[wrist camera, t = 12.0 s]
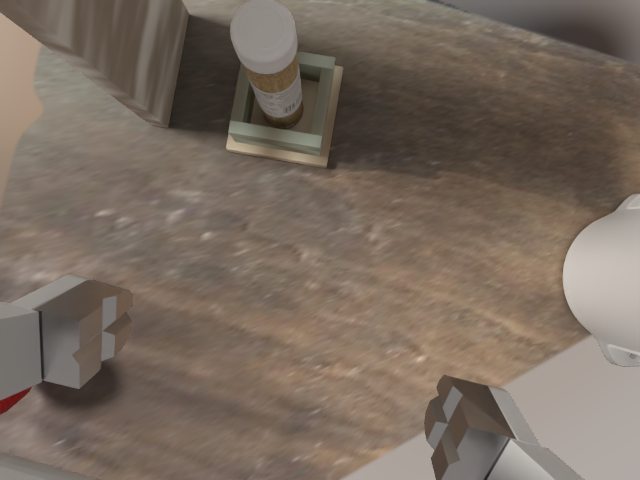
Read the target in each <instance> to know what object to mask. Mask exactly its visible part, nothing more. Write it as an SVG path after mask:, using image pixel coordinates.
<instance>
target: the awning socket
mask: <svg viewBox="0 0 640 480" xmlns="http://www.w3.org/2000/svg"><path fill="white" fill-rule="evenodd" d="M0 12H1V13H2V14H3V15H5V16H6V17H7V18H9V19H10V20H11V21H13V22H14V23H15V24H17V25H18V26H19V27H21V28H22V29H23V30H25V31H26V32H27V33H29V34H30V35H32V36H33V37H34V38H35V39H37V40H38V41H39V42H41V43H42V44H43V45H45V46H46V47H47V48H49V49H50V50H51V51H53V52H54V53H55V54H57V55H58V56H59V57H61V58H62V59H63V60H65V61H66V62H67V63H69V64H70V65H71V66H73V67H74V68H75V69H77V70H78V71H79V72H81V73H82V74H83V75H85V76H86V77H87V78H89V79H90V80H91V81H93V82H94V83H95V84H97V85H98V86H99V87H101V88H102V89H103V90H105V91H106V92H107V93H109V94H110V95H111V96H113V97H114V98H115V99H117V100H118V101H119V102H121V103H122V104H123V105H125V106H126V107H127V108H129V109H130V110H131V111H133V112H134V113H135V114H137V115H138V116H139V117H141V118H142V119H143V120H145V121H146V122H147V123H149V124H150V125H155V126H161V127H167V128H168V126H169V121H170V116H171V110H172V105H173V99H174V94H175V89H176V83H177V78H178V72H179V67H180V62H181V56H182V51H183V45H184V40H185V34H186V29H187V24H188V18H189V13H188V11H187V9H186V7H185V6H184V4H183V2H182V0H0ZM296 54H297V61H298V65H299V70H300V80H301V90H302V101H303V106H304V110H303V115H302V118H301V119H300V121H299V122H298V123H297V124H296V125H295V126H293V127H291V128H288V129H278V128H274V127H272V126H271V125H269V124H268V123H267V122H266V120H265V118H264V117H263V114H262V109H261V107H260V105H259V103H258V100H257V98H256V95H255V93H254V91H253V88H252V86H251V83H250V81H249V78H248V76H247V71H246V69H245V67H244V65H243V64H242V62H241V63H240V69H239V74H238V80H237V85H236V91H235V97H234V102H233V108H232V113H231V119H230V124H229V130H228V133H229V134H228V140H227V145H226V150H227V151H228V152H234V153H240V154H245V155H251V156H257V157H263V158H269V159H275V160H281V161H287V162H293V163H298V164H304V165H310V166H316V167H322V168H327V163H328V157H329V151H330V145H331V139H332V133H333V127H334V121H335V115H336V110H337V104H338V98H339V92H340V86H341V80H342V74H343V68H344V67H342V66H336V65H335V58H336V57H330V56H324V55H318V54H312V53H306V52H300V51H296Z"/></svg>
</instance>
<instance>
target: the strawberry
mask: <svg viewBox="0 0 640 480" xmlns="http://www.w3.org/2000/svg"><path fill="white" fill-rule="evenodd" d="M31 388H32V387H30V388H28V389H25V390H23V391H21V392H18V393H16V394H14V395H12V396H9V397H7V398H5V399H2V400H0V414H2V413H4V412H6V411H7V410H8V409H10V408H11V407H12V406H13V405H15V404H16V403H17V402H18V401H19V400H21V399H22V398H23V397H24V396H25V395H26V394H27V393H28V392H29V391H30V389H31Z"/></svg>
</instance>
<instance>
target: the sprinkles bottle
mask: <svg viewBox="0 0 640 480" xmlns="http://www.w3.org/2000/svg"><path fill="white" fill-rule="evenodd" d="M230 36H231V40H232V43H233V46H234V49H235V51H236V54H237V56H238V58H239V60H240V61H241V62H242V64H243V65H244V67H245V69H246V71H247V76H248V78H249V81H250V83H251V86H252V88H253V91H254V93H255V95H256V98H257V100H258V103H259V105H260V107H261V109H262V114H263V117H264V118H265V120H266V122H267V123H268V124H269V125H271V126H272V127H274V128H278V129H288V128H291V127H293V126H295V125H296V124H297V123H298V122H299V121H300V119H301V118H302V115H303V110H304V106H303V101H302V90H301V80H300V70H299V65H298V61H297V54H296V51H297V44H298V41H297V32H296V26H295V22H294V19H293V17H292V15H291V13H290V12H289V10H288V9H287V8H286V7H285V6H284V5H283V4H281V3H280V2H278V1H276V0H250V1H248V2H246V3H244V4H243V5H242V6H241V7H239V9H238V10H237V11H236V12H235V14H234V16H233V18H232V21H231V25H230Z"/></svg>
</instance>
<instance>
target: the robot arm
mask: <svg viewBox="0 0 640 480" xmlns="http://www.w3.org/2000/svg"><path fill="white" fill-rule="evenodd" d="M563 287H564V292H565V296H566V299H567V302H568V305H569V307H570V309H571V311H572V312H573V314H574V316H575V317H576V318H577V320H578V321H579V322H580V323H581V324H582V325H583V326H584V327H585V328H586V329H587V330H588V331H589V332H590V333H591V334H592V335H593V336H594V337H595V338H596V339H597V341H598V343H599V346H600V348H601V350H602V352H603V354H604V356H605V358H606V359H607V360H608V361H609V362H610V363H612V364H615V365H619V366H623V367H626V366H627V367H629V366H640V194H633V195H631V196H629V197H628V198H627V199H626V200H625V201H624V202H623V203H622V204H621V205H620V206H619V207H618V208H617V210H616V211H614V212H613V213H611V214H609V215H607V216H605V217H602V218H600V219H598V220H596V221H594V222H593V223H591V224H590V225H588V226H587V227H586V228H585V229H584V230H583V231H582V232H581V233H580V234H579V235H578V236H577V237H576V239H575V240H574V241H573V243H572V245H571V247H570V248H569V251H568V253H567V256H566V259H565V263H564V268H563ZM132 306H133V294H132V293H131V292H130V291H129V290H127V289H123V288H120V287H116V286H113V285H109V284H106V283H102V282H99V281H96V280H91V279H89V278H85V277H81V276H77V275H66V276H64V277H62V278H60V279H58V280H56V281H54V282H52V283H50V284H48V285H46V286H44V287H42V288H40V289H38V290H36V291H34V292H32V293H30V294H28V295H26V296H24V297H22V298H20V299H18V300H16V301H14V302H12V303H10V304H9V303H5V302H0V400H2V399H5V398H7V397H9V396H12V395H14V394H16V393H18V392H21V391H23V390H25V389H28V388H30V387H32V386H34V385H37V384H39V383H41V382H42V380H43V381H47V382H51V383H56V384H60V385H64V386H68V387H72V388H77V389H80V388H81V387H82V386H83V385H84V384H85V383H86V382H87V381H89V380H90V379H91V378H92V377H93V376H94V375H95V374H96V373H97V372H98V371H99V370H100V369H101V361H103V360H106V359H109V358H112V357H114V356H115V355H116V354H117V353H118V352H119V351H120V350H121V349H122V348H123V346H124V345H125V343H126V341H127V340H128V338H129V335H130V331H131V325H132V320H131V318H130V317H129V315H128V313H127V311H128V310H129V309H130V308H131V307H132ZM629 353H631V354H630V356H629ZM437 391H438V394H439V396H437V397H436V398H434V399H432V400H431V401H430V402H429V405H428V407H427V410H426V415H425V422H424V425H425V435H426V439H427V442H428V443H429V444H430V445H431V447H432V448H433V449H434V450H435V451H434V453H433V455H432V457H431V460H432V465H433V469H434V473H435V477H436V480H584V479H583V478H582V477H581V476H580V475H578V474H577V473H576V472H575V471H574V470H573V469H571V468H570V467H569V466H568V465H566V463H565V462H563V461H562V460H561V459H560V458H559V457H557V456H556V455H555V454H554V453H553V452H552V451H550V450H549V449H548V448H545V447H541V445H540V444H539V442H538V440H537V439H536V437H535V435H534V434H533V432H532V430H531V429H530V427H529V425H528V424H527V422H526V420H525V419H524V417H523V415H522V414H521V412H520V410H519V409H518V407H517V405H516V404H515V402H514V400H513V399H512V397H511V395H510V394H509V393H508V392H507V391H506V390H505V389H502V388H498V387H493V386H489V385H485V384H484V385H483V384H479V383H475V382H471V381H467V380H463V379H459V378H455V377H451V376H447V375H444V376H443V377H442V378H441V379H440V380H439V383H438V385H437ZM0 480H101V479H98V478H94V477H91V476H87V475H83V474H80V473H76V472H72V471H69V470H65V469H62V468H58V467H54V466H51V465H47V464H43V463H40V462H36V461H33V460H29V459H25V458H22V457H18V456H14V455H11V454H7V453H4V452H0Z"/></svg>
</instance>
